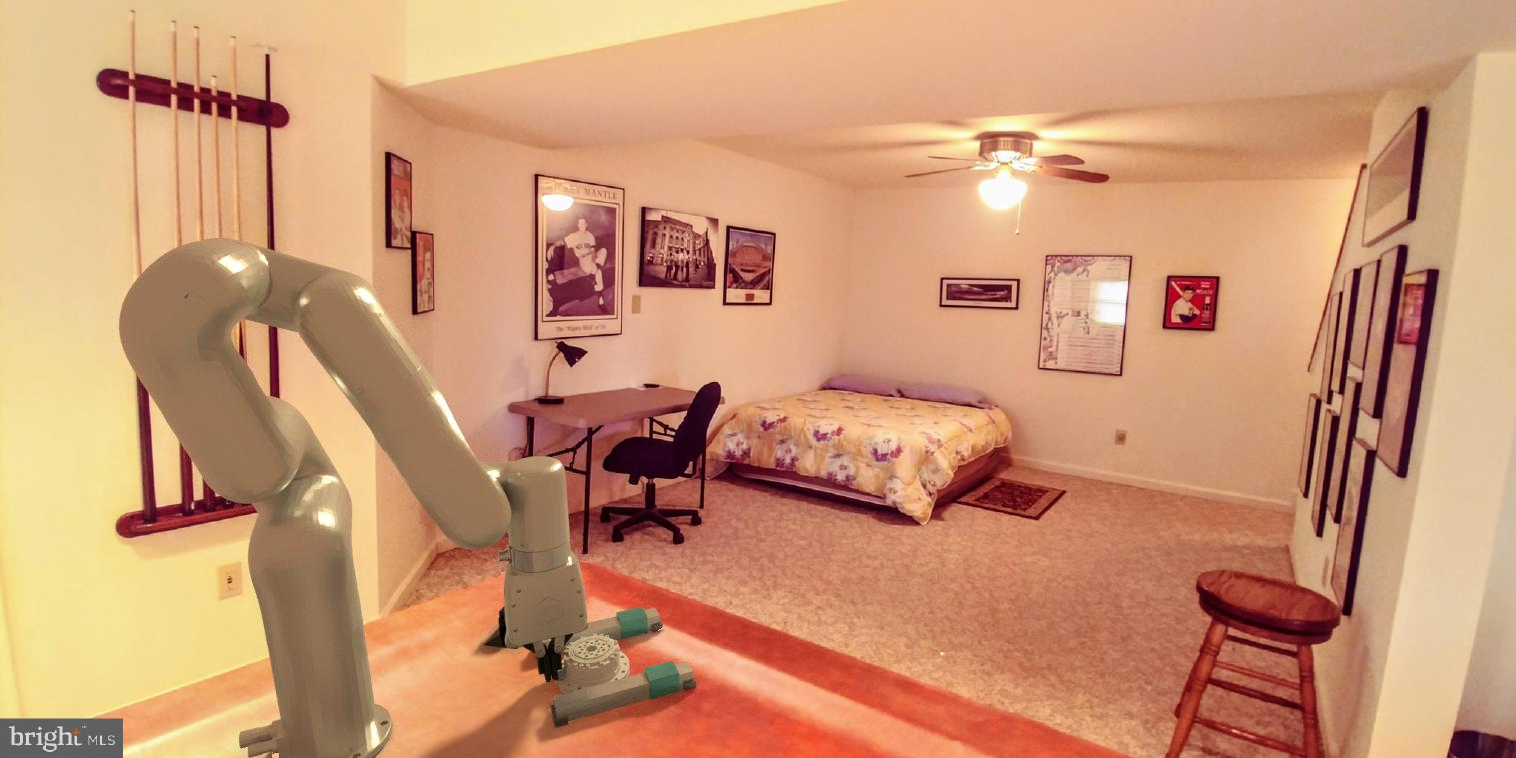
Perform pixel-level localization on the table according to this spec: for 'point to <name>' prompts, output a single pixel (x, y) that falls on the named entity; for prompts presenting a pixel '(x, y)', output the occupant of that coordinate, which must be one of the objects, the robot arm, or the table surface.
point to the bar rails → (623, 690)
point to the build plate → (499, 633)
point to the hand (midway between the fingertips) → (550, 675)
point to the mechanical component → (591, 663)
